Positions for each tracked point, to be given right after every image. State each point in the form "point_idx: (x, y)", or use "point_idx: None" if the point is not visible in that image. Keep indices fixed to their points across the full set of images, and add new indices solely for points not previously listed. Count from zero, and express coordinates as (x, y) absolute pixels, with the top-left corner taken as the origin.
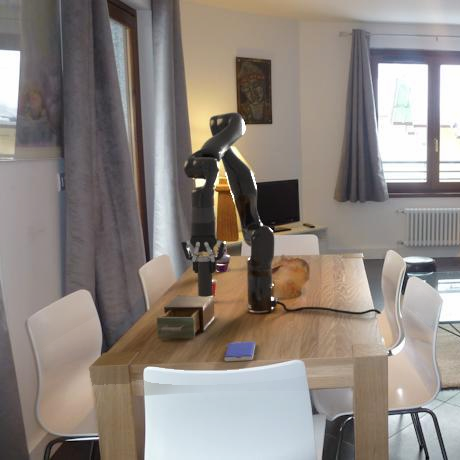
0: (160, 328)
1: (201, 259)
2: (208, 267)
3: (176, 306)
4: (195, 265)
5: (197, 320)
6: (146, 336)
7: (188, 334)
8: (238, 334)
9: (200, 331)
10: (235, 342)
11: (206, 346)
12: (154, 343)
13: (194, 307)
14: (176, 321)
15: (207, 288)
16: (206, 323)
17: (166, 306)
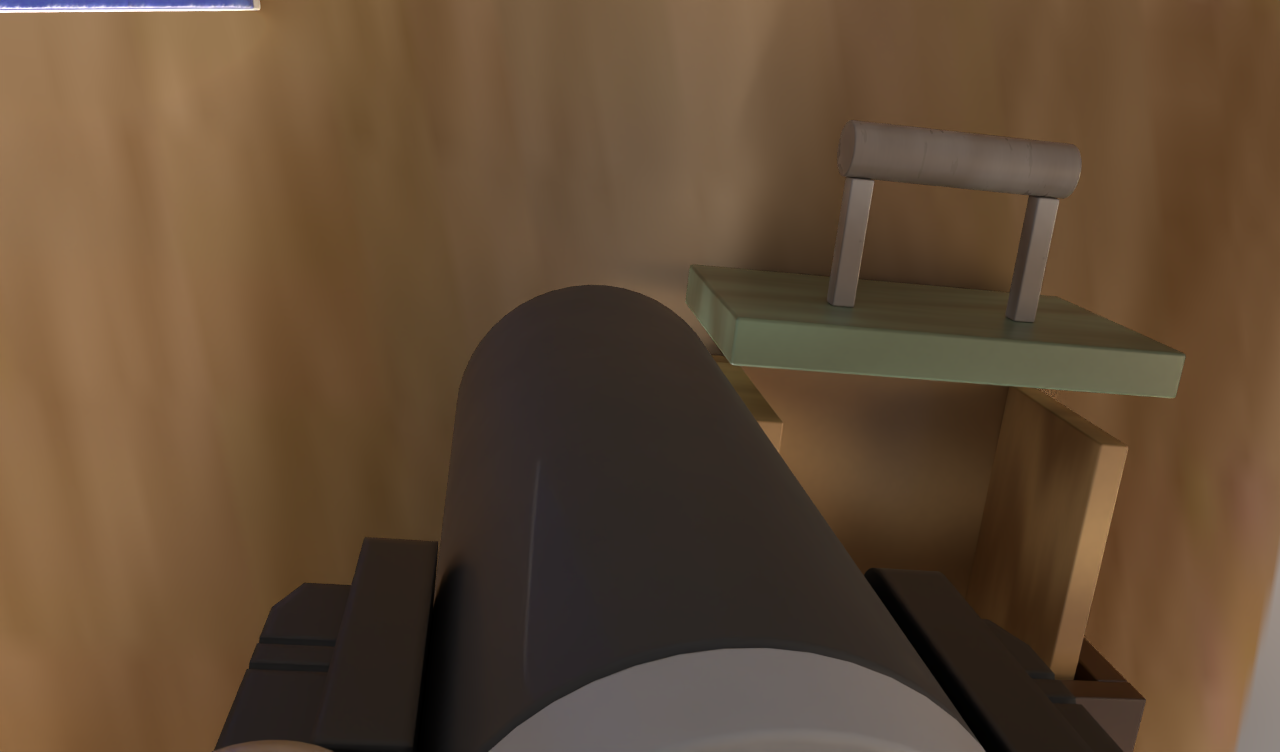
0: (1081, 319)
1: (843, 709)
2: (502, 590)
3: None
4: (1005, 686)
5: None
6: (1161, 444)
7: (758, 278)
8: (241, 442)
9: None
10: (166, 2)
11: (526, 73)
12: (1068, 229)
13: None
14: (936, 324)
15: (533, 339)
16: None
17: (1122, 722)
